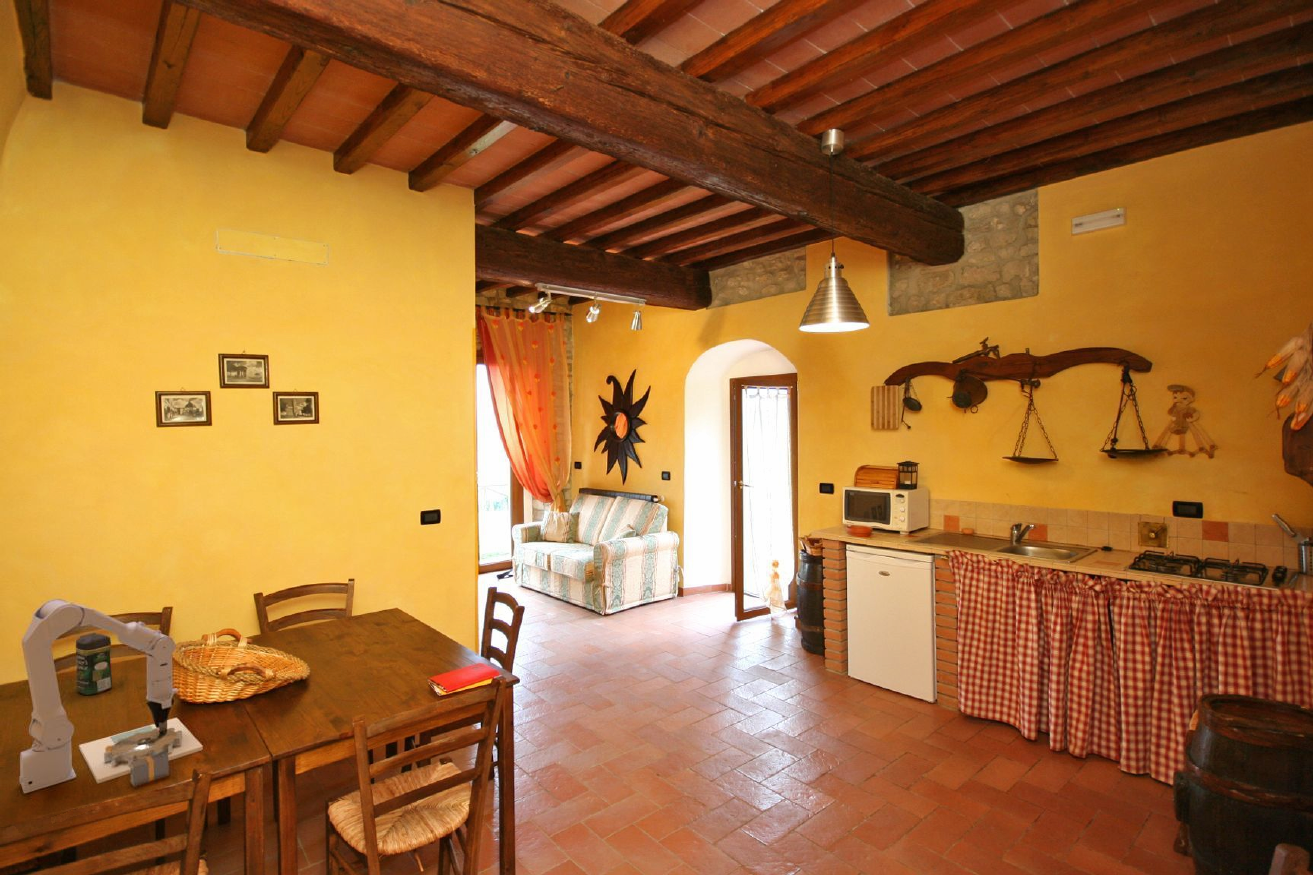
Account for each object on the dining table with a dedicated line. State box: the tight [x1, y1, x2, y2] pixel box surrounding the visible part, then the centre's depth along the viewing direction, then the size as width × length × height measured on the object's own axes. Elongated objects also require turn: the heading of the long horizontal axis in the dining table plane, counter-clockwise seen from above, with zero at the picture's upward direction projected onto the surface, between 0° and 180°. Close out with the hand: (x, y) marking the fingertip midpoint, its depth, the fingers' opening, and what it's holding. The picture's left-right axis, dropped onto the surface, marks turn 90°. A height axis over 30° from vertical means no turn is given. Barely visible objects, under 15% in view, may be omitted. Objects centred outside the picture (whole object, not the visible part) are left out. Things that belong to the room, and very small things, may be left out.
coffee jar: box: [75, 632, 113, 696], centre depth 217 cm, size 10×8×19 cm
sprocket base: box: [78, 717, 204, 784], centre depth 178 cm, size 22×26×1 cm
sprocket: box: [104, 719, 182, 766], centre depth 176 cm, size 17×17×5 cm
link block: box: [129, 752, 170, 788], centre depth 164 cm, size 7×4×5 cm, turn 139°
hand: (160, 725), depth 183 cm, fingers closed
